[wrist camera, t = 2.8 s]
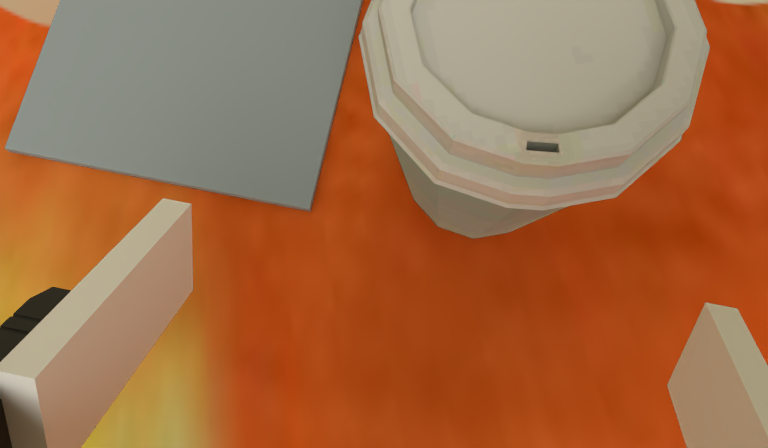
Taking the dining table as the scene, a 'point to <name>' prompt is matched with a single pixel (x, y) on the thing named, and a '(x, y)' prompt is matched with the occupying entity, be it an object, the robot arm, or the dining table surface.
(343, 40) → the mat
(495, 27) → the disposable coffee cup
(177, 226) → the robot arm
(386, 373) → the dining table surface
